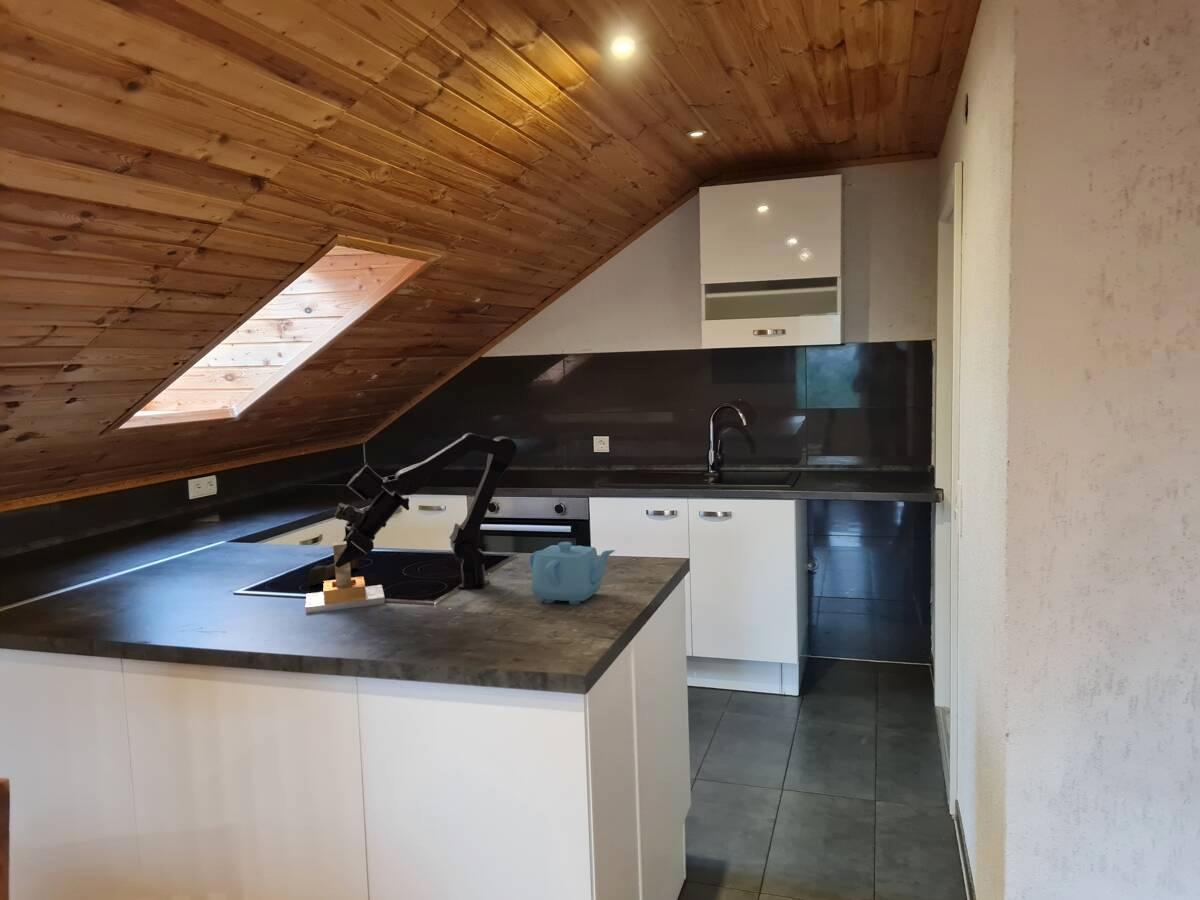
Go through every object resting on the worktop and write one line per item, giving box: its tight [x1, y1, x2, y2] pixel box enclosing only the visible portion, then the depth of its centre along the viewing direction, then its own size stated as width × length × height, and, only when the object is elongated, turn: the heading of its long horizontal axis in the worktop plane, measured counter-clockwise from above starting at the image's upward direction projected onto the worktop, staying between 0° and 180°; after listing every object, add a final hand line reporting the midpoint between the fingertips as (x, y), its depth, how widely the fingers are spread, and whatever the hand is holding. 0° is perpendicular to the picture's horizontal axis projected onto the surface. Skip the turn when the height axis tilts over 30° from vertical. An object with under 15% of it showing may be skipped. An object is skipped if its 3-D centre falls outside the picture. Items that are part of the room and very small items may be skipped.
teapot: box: [528, 541, 616, 606], centre depth 206 cm, size 18×16×14 cm
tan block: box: [332, 540, 352, 587], centre depth 211 cm, size 4×4×13 cm
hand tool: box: [308, 558, 360, 587], centre depth 235 cm, size 19×4×5 cm, turn 157°
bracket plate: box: [305, 576, 386, 614], centre depth 211 cm, size 18×12×4 cm, turn 107°
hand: (336, 561), depth 210 cm, fingers open, 9 cm apart
